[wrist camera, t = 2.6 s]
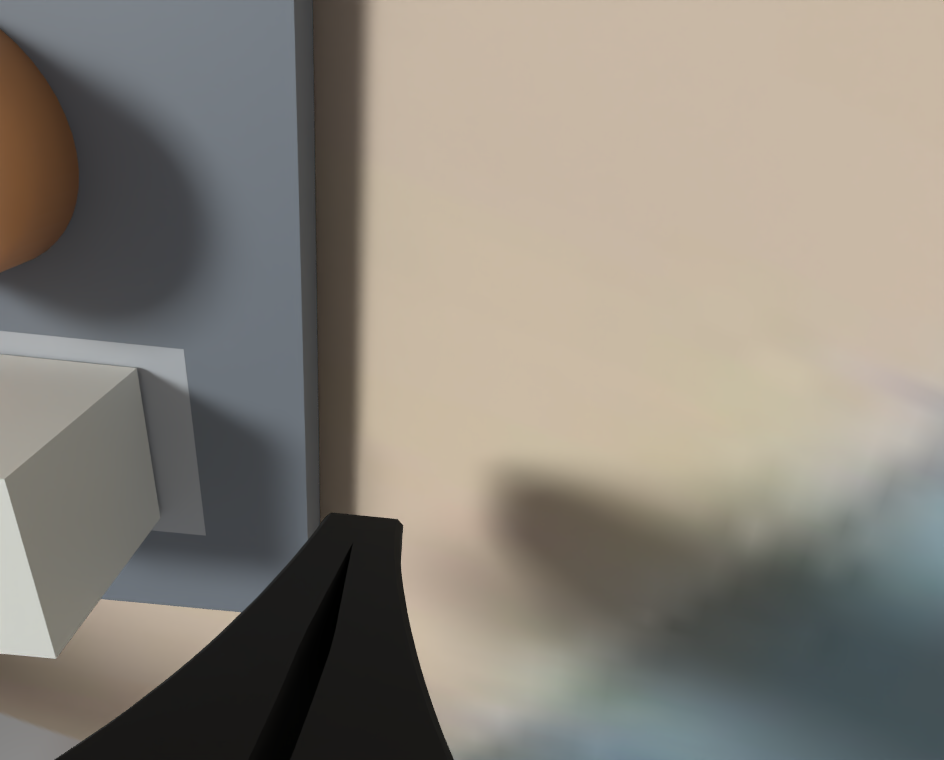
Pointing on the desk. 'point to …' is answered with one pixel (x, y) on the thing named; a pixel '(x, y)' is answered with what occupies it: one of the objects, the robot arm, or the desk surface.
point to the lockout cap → (32, 160)
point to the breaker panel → (189, 269)
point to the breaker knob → (67, 494)
